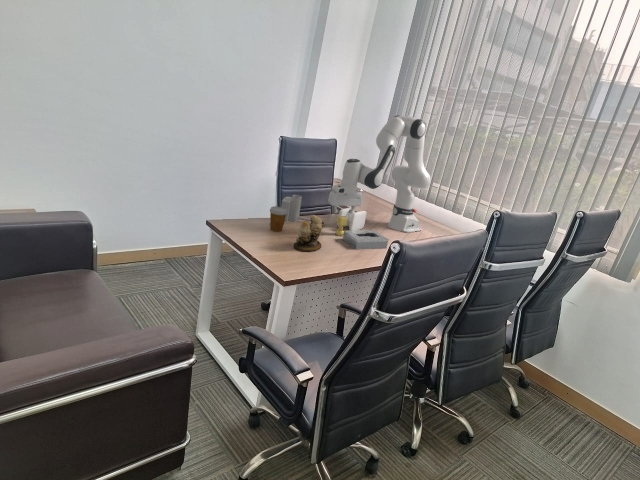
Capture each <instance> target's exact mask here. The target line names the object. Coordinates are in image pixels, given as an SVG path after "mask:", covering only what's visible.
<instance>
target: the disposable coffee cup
mask: <svg viewBox="0 0 640 480" xmlns="http://www.w3.org/2000/svg"><path fill="white" fill-rule="evenodd" d="M269 213H270V214H269V215H270V218H269V220H270V224H269V225H270V231H272V232H274V233H275V232H276V233H280V232H282V231H283V228H284V224H285V222H284V221H285V217H286V214H287V209H286V208H283V207H281V206H271V207H270V209H269Z"/></svg>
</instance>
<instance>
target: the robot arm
mask: <svg viewBox="0 0 640 480" xmlns="http://www.w3.org/2000/svg"><path fill="white" fill-rule="evenodd" d="M425 122H426V121H423V120H422V119H420V118H416V117H413V116H407V115H406V116H405V115H401V114H400V115H399V114H398V115H395V116H393V117H391V118H390V119H389V120H388V121H387V122H386V123H385V124H384V126H383V127H382V128H381V129H380V132H379V133H378V134H377V136H376V139H375V144H376V146H377V149H379V150H380V151H381V157H380V159H379V161H378V163H377V165H376V167H374V168H371V167H368V166H366V165H365V164H363V163H362V162H361V160H360V159H358V158H349V159H346V161H345V162H344V166H343V171H342V179H341V182H340V183H339V184H336V185H335V184H334V185H332V186H331V191H330V193H329V195H328V200H327V202H328V205H331V206H332V207H333V209H334V210H333V212H334V213H335V214H339V210H338V209H337V208H338V206H343V207H352V208H351V209H350V210H349V213H350V214H352V212H353V210H354V209H355V210H356V207H361V206H362V204H363V197H364V190H362V189H357V187H358V183H359V184H360V185H364V186H366V187H367V188H368V189H371V190H375V189H377V188H378V187H380V186H381V185H382V184H383V181H384V178H385V175H386V172H387V171H388V169H389V167H390V165H391V162H392V161H393V158H395V157H394V156H395V154H396V145H397V144H398V142H399V140H400V138H401V136H402V137H406V139H405V144H404V153H403V159H404V161H405V162H406V163H407V164H408V165H402V164H399V165H395V166H394V167H393V169H392V171H391V178H392V180H393V182H394V183H395V185H396V198H395V203H394V204H393V209H392V213H391V217H390V219H389V221H388V223H387V227H389V229H393V230H395V231H398V232H404V233H408V234H409V232H410V233H416V232H415V231H417V232H421V231H422V228H421V227H419V225H420V221H419V219H418V218H417V217H416V215H414V213H415V214H416V213H417V212H418V209H415V208H413V206H414V203H415V197H416V196H415V194H414V193H413V192H412V190H411V188H415V189H421V190H425V189H426V188H428V186H429V185H430V184H431V175H430V173H429V172H428V171H427V169H426V168H425V164H424V152H425V151H424V150H425V137H426V136H425V133H426V131H427V125H426V123H425ZM420 230H421V231H420Z"/></svg>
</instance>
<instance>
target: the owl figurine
mask: <svg viewBox="0 0 640 480" xmlns="http://www.w3.org/2000/svg"><path fill="white" fill-rule="evenodd" d="M309 219H310V221H306V220H302V224H301V225H300V227H299V232H298V237H296V239H295V241H296V242H295V243H294V244H293V248H294V249H295V250H296V251H298V252H302V253H315V252H317V251H319V250H320V249H321V248H322V243H321V242H320V241H319V237H321V234H323V233H322V230H323V227H322V225H323V224H322V222H323V221H322V219H321V218H320V217H318V216H317V215H315V214H312V215H311V216H310V218H309Z"/></svg>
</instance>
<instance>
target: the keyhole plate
mask: <svg viewBox="0 0 640 480" xmlns="http://www.w3.org/2000/svg"><path fill="white" fill-rule="evenodd" d="M343 231H344V234H343V236H342V241H344V242H345V243H347V244H348V246H350V247H352V248H353V249H354V250H372V249H373V250H375V249H376V250H377V249H378V250H379V249H380V250H381V249H387V247H388V243H389V238H387V237H386V236H384V235H383V234H381V233H380V232H378V231H377V230H375V229H369V230H367V229H363V230H362V229H361V230H353V231H350V230H343Z"/></svg>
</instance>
